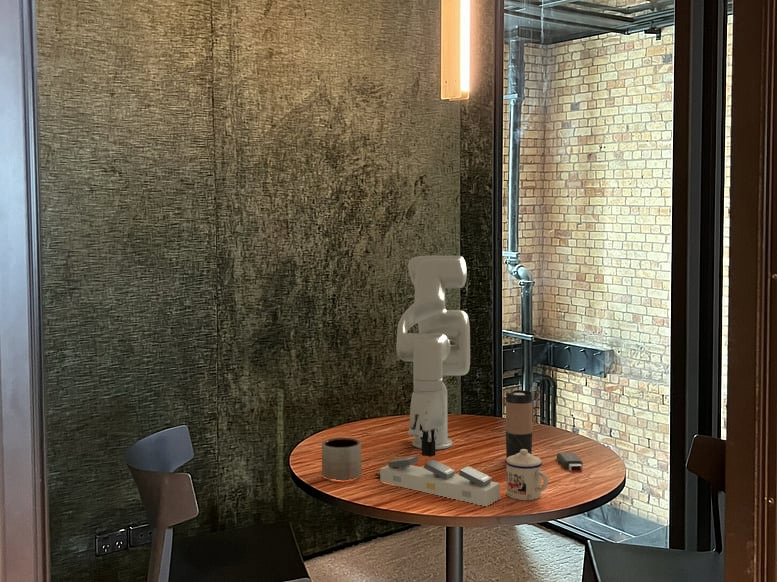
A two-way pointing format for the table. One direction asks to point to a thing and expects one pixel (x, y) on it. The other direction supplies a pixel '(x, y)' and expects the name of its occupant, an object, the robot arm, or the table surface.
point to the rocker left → (403, 461)
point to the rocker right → (475, 476)
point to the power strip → (440, 484)
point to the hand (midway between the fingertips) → (428, 455)
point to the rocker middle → (439, 469)
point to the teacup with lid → (525, 476)
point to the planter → (341, 458)
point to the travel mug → (518, 422)
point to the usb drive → (570, 461)
